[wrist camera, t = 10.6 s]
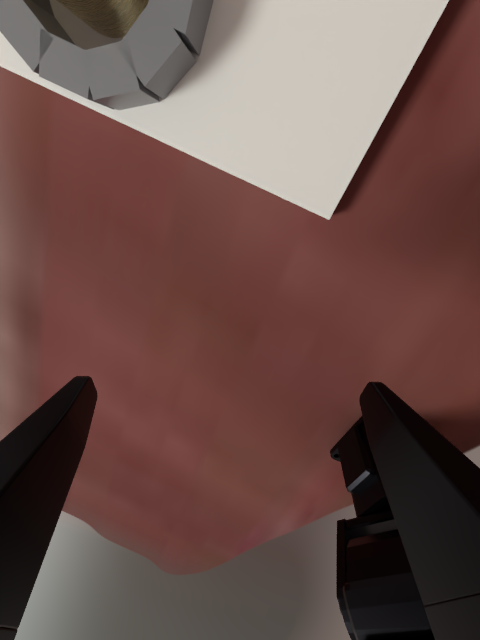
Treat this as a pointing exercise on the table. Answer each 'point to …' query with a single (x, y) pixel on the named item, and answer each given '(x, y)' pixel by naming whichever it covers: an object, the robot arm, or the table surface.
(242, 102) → the nut plate
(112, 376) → the table surface
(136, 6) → the brass pin
